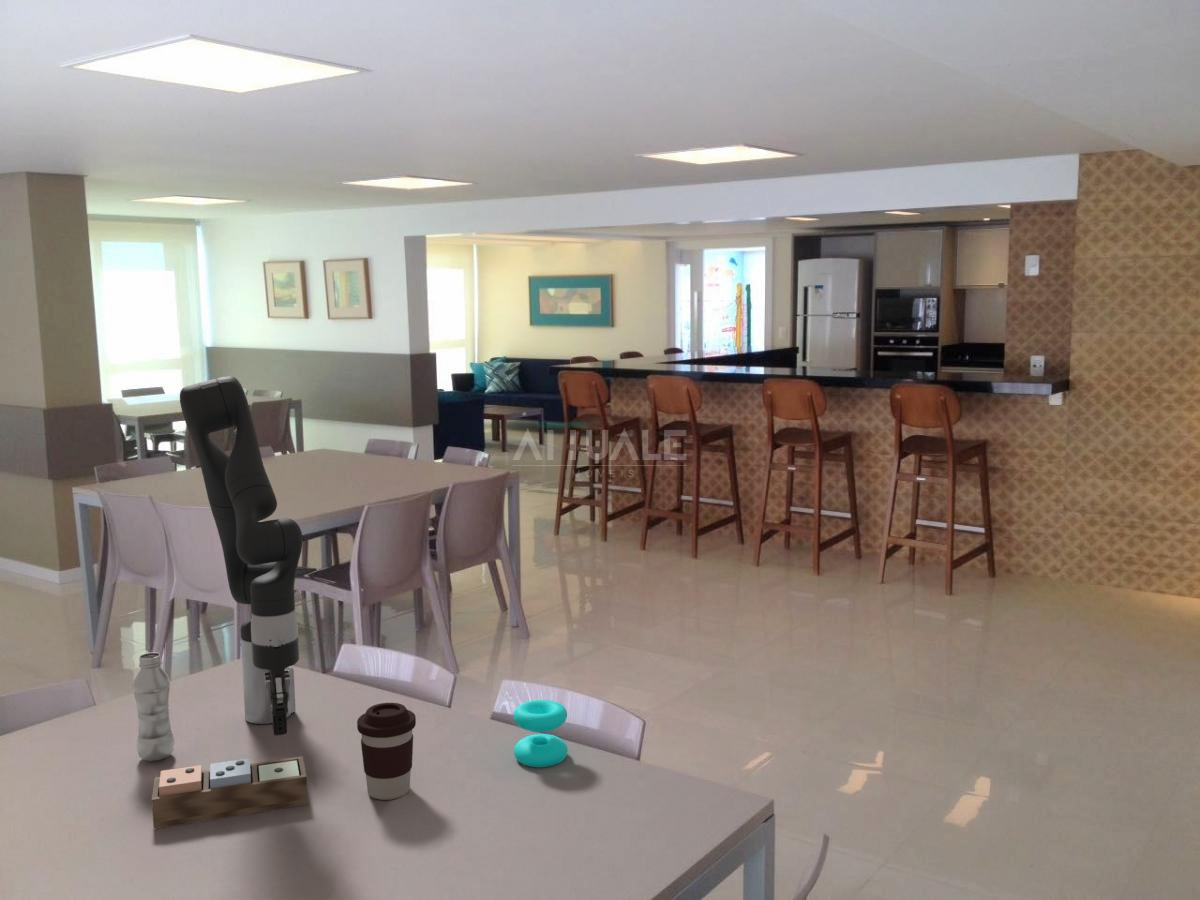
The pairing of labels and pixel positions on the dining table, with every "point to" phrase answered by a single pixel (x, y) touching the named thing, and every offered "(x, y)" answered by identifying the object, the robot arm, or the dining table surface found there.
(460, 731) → the dining table surface
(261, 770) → the button one
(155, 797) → the dice tray set
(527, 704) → the donuts
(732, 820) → the dining table surface
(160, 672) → the plastic bottle
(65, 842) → the dining table surface
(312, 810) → the dining table surface
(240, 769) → the button three
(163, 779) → the button two
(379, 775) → the coffee cup
